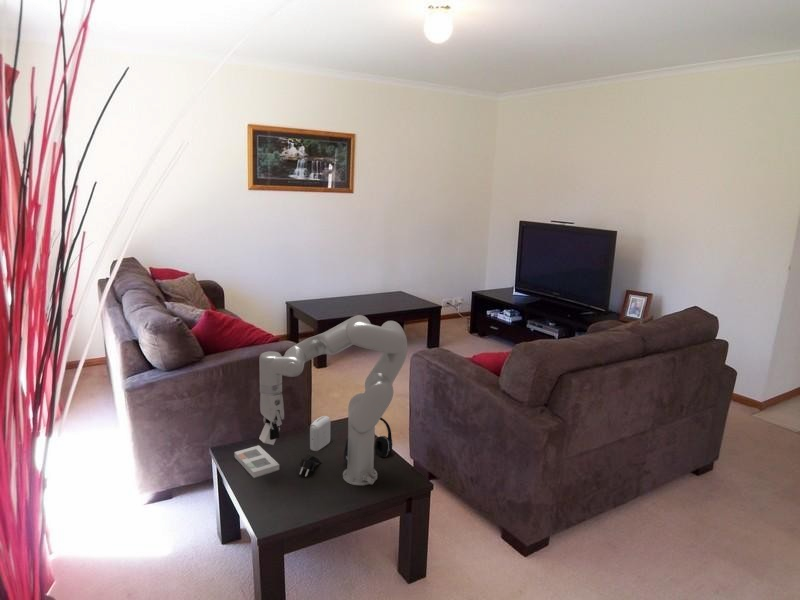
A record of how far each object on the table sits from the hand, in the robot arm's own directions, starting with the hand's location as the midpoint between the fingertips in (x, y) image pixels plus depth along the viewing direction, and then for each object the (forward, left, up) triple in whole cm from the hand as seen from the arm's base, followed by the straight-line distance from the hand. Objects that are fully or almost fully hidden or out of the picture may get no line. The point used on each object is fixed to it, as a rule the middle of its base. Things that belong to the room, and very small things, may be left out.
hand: (271, 435), depth 191 cm
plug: (0, +2, -2) cm, 3 cm away
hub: (+13, 0, -17) cm, 22 cm away
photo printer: (+12, -27, -17) cm, 34 cm away
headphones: (-8, -37, -17) cm, 42 cm away
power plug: (-1, -19, -19) cm, 27 cm away
